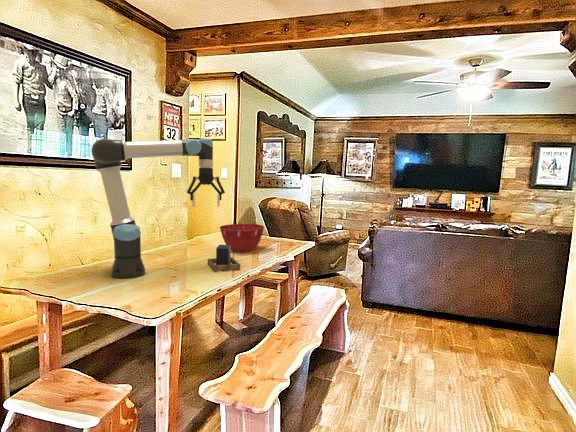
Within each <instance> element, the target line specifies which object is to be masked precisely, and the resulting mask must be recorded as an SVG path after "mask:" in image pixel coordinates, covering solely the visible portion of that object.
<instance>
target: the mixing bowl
mask: <svg viewBox="0 0 576 432" xmlns="http://www.w3.org/2000/svg"><path fill="white" fill-rule="evenodd" d="M264 228H265V226H264V225H261V224H257V223H256V224H255V223H233V224H232V223H231V224H224V225H221V226H219V229H220V233H221V237H222V239H223V242H224V243H225V245H231V251H232V252H235V253H249V252H252V251H253V250H255V249H256V248H257V247H258V245H259V243H260V241H261V239H262V237H263V236H262V235H263V233H264Z"/></svg>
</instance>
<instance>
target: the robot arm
mask: <svg viewBox="0 0 576 432" xmlns="http://www.w3.org/2000/svg"><path fill="white" fill-rule="evenodd" d="M213 154H214V144H213V139H211V138H206V137H205V138H204V137H203V138H202V137H201V138H199V139H194V138H190V139H174V140H172V139H171V140H145V141H143V140H142V141H141V140H140V141H125V140H124V139H112V138H111V139H109V138H101V139H98V140H96V141H95V142H94V143H93V144H92V146H91V155H92V158H93V162H94V165H95V166H94V167H95V169H96V171H97V172H99V173H100V175H101V179H102V184H103V187H104V192H105V195H106V199H107V200H106V201H107V203H108V207H109V212H110V216H111V219H112V221H111V222H110V224H109V226H110V229H111V230H110V231H111V233H112V239H113V247H114V249H113V250H114V254H113V255H114V260H113V264H112V266H111V270H110V277H112V278H115V279H131V278H137V277H141V276H143V275H146V268H145V264H144V261H143V260H142V251H141V250H142V249H141V248H142V247H141V246H142V245H141V241H142V240H141V232H142V231H141V227H140V226H138V225H137V224H136V221H135V218H133V217H132V216H131V213H130V208H129V205H128V200H127V196H126V193H125V192H126V191H125V187H124V184H123V179H122V175H121V171H120V170H121V168H122V167H123V166H122V165H123V164H122V162H126V161H127V160H128V159H139V158H140V159H141V158H155V157H156V158H158V157H159V158H161V157H174V156H180V157H181V156H182V157H198V176H192V181H191V182H190V184H189V186H188V189H187V190H186V193H187V194H189V196H190V197H189V198H190V201H192V202H191V203H192V208H195V205H196V204H195V203H196V202H195V197H196V196H195V192H197V190H198V189H199V188H200V187H201V186H202V185H203V186H204V185H208V186H209V185H210V186H211V187H212V188H213V189H214V190H215V191H216V193H218V194H217V197H216V198H217V199H216V200H217V202H216V203H217V204H216V206H217V207H220V206H221V205H220V202H221V201H222V195H224V194H225V193H226V192H225V190H224V188H223V185H222V183H221V182H220V177H219V176H214V155H213ZM196 181H199V182H198V183H197V185H195V183H196ZM213 181H216V183H217V184H216V185H218V187H219V188H218V187H217V186H216V185H215V184H214V182H213ZM194 185H195V187H194ZM193 187H194V188H193Z"/></svg>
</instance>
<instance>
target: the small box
mask: <svg viewBox="0 0 576 432" xmlns="http://www.w3.org/2000/svg"><path fill="white" fill-rule="evenodd" d="M215 249H216V251H215V258H216V265H230V259H231V257H232V256H231V253H232V252H231V251H232V250H231V245H226V244H219V245H218V246H217V247H216V248H215Z"/></svg>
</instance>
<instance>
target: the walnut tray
mask: <svg viewBox="0 0 576 432" xmlns="http://www.w3.org/2000/svg"><path fill="white" fill-rule="evenodd" d="M207 265H208V267H209V268H210V269H211V270H212V272H214V273H219V272H218V271H222V272H231V271H230V270H235V271H241V264H240V263H239V262H238V261H237V260H236V259H235V258H234V257H232V256H231V259H230V265H216V257H215V258H207Z"/></svg>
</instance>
